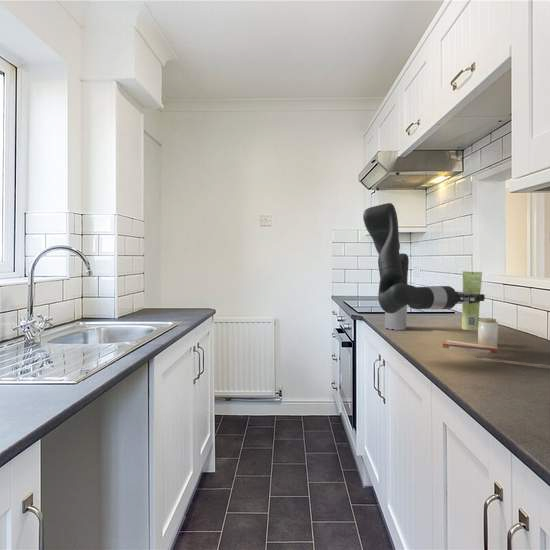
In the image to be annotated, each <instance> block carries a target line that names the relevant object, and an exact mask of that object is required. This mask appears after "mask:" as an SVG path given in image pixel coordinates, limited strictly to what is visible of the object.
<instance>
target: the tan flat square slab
mask: <svg viewBox="0 0 550 550" xmlns="http://www.w3.org/2000/svg"><path fill="white" fill-rule="evenodd" d="M442 348H445V349H451V350H462V351H471V352H480V353H488V354H498V353H499V349H498V348H499V347H498V345H497V346H494V347H491V346H482V345H479V344H478V341H477V342H476V341H465V340H455V339H447V340H446V341H445V343H442Z"/></svg>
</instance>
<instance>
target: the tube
mask: <svg viewBox="0 0 550 550" xmlns="http://www.w3.org/2000/svg"><path fill="white" fill-rule="evenodd" d="M482 277H483V271H464V270H463V271H462V292H467V293H471V294H481V292H482V291H481V290H482V280H483V278H482ZM465 295H466V294H465ZM480 304H481V301H480V302H479V303H472V304H471V303H462V304H461V305H462V308H461V309H462V312H461V329H462V330H465V331H478V324H479V321H480V320H479V319H480Z"/></svg>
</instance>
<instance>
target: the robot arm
mask: <svg viewBox="0 0 550 550" xmlns="http://www.w3.org/2000/svg"><path fill="white" fill-rule="evenodd" d="M397 214H398V213H397V210H396V208H395V205H394V204H393V203H391V202H389V203H383V204H379V205H378V204H377V205H373V206H371V207H368V208H366V209H365V210H364V211H363V215H362V217H363V223H364V226H365V228H366V230H367V232H368V234H369V235H370V237H371V239H372V240H373V243H374V248H375V250H376V253H377V254H378V259H377V263H378V265H377V266H378V271H379V284H378V293H377V294H378V296H377V298H378V302H379V306H380V309H382V310H383V312H384V328H385V329H387V328H388V330H392V329H394V330H395V331H404V330H407V327H408V326H407V325H408V324H407V322H408V320H407V319H408V307H409V308H411V309H412V310H413V309H414V310H450V309H451V310H452V309H453V308H454V307H455V306H456V305H457V304H458V305H460V304H461V305H462V303H471V304H472V303H479V302H480V303H481V302H485V298H486V295H485V294H482V293H480V294H471V293H467V292H463V291H456V290H455V289H454V288H453V287H452V286H450V285H429V286H415V285H411V284H408V277H409V276H408V275H409V263H410V262H409V261H410V260H409V256H408V254H407V253H400V250H401V244H400V235H399V231H400V230H399V221H398V215H397ZM465 294H466V295H465ZM394 330H393V331H394Z"/></svg>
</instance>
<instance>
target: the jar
mask: <svg viewBox="0 0 550 550" xmlns="http://www.w3.org/2000/svg"><path fill="white" fill-rule="evenodd" d="M479 319H480V320H479V324H478V330H477V342H478V344H479V345H482V346H491V347H494V346H497V347H498V339H499V338H498V337H499V336H498V335H499V322H498V321H497V318H493V317H492V318H491V317H479Z"/></svg>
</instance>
